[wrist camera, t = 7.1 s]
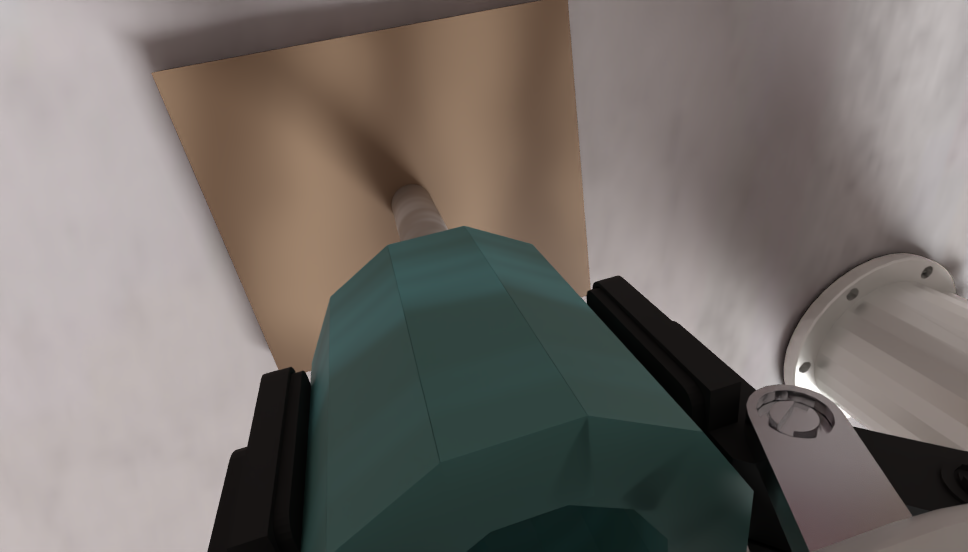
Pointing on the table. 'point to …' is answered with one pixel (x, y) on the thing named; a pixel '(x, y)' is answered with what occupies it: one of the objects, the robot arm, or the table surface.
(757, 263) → the table surface
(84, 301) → the table surface
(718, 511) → the bead
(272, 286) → the spindle stand
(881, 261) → the robot arm
